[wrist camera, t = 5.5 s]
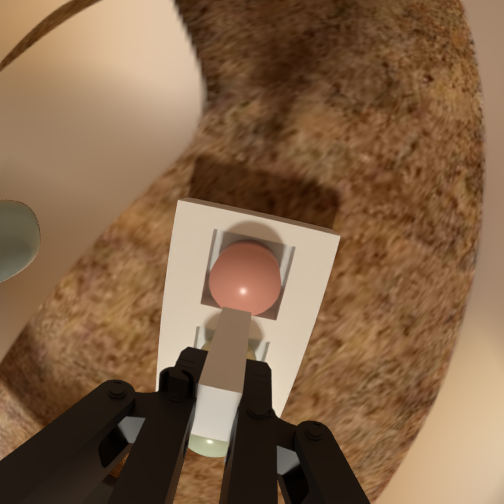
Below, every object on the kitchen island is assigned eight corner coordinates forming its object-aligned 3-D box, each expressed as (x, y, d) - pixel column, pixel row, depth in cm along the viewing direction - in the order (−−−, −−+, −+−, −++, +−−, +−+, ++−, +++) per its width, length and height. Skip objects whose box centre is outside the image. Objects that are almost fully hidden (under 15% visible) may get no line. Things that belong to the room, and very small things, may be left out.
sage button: (187, 430, 28) (181, 450, 25) (192, 398, 26) (185, 419, 23) (234, 440, 28) (231, 461, 25) (243, 409, 26) (241, 431, 23)
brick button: (210, 292, 25) (203, 307, 22) (222, 232, 23) (215, 240, 20) (271, 305, 25) (271, 322, 22) (286, 247, 23) (288, 257, 20)
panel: (161, 418, 30) (154, 435, 27) (188, 197, 24) (178, 200, 21) (262, 440, 30) (262, 459, 28) (331, 229, 24) (340, 236, 22)
